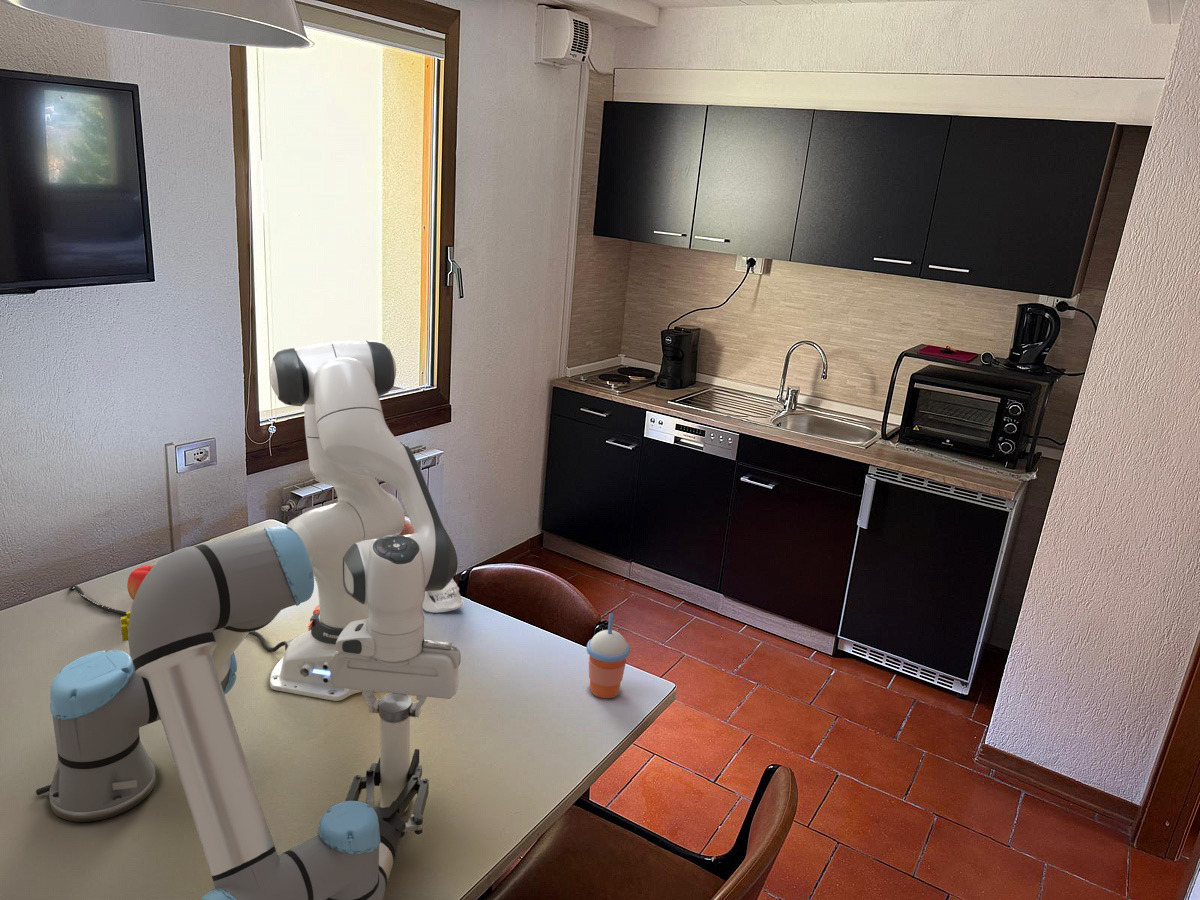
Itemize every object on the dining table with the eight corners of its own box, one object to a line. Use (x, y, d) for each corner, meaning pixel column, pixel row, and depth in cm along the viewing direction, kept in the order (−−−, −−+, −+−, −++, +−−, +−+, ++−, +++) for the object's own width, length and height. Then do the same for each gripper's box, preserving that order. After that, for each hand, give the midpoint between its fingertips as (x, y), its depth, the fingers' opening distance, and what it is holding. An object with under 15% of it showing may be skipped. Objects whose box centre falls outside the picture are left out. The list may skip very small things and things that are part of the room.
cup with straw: (621, 706, 176) (629, 628, 171) (578, 698, 178) (585, 621, 173) (629, 682, 185) (636, 608, 180) (588, 675, 186) (594, 601, 181)
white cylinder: (396, 792, 147) (397, 694, 141) (414, 805, 144) (416, 705, 138) (374, 806, 143) (374, 705, 138) (392, 820, 141) (392, 718, 135)
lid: (380, 724, 135) (380, 713, 135) (377, 705, 140) (377, 695, 139) (413, 719, 137) (413, 709, 136) (409, 701, 142) (409, 691, 141)
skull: (448, 622, 203) (451, 561, 199) (372, 599, 211) (374, 540, 207) (477, 602, 215) (480, 543, 211) (405, 581, 223) (406, 524, 219)
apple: (178, 610, 199) (175, 571, 196) (132, 618, 194) (128, 578, 191) (171, 592, 207) (168, 555, 204) (127, 600, 202) (123, 562, 199)
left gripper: (307, 874, 126) (349, 770, 148) (428, 880, 126) (452, 776, 149) (306, 832, 123) (349, 733, 146) (429, 838, 124) (453, 739, 146)
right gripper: (465, 634, 137) (462, 708, 141) (339, 621, 138) (340, 695, 142) (456, 654, 131) (454, 731, 135) (325, 641, 132) (326, 718, 136)
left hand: (401, 755), depth 147 cm, fingers closed on white cylinder, 5 cm apart
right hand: (395, 713), depth 138 cm, fingers closed on lid, 5 cm apart
